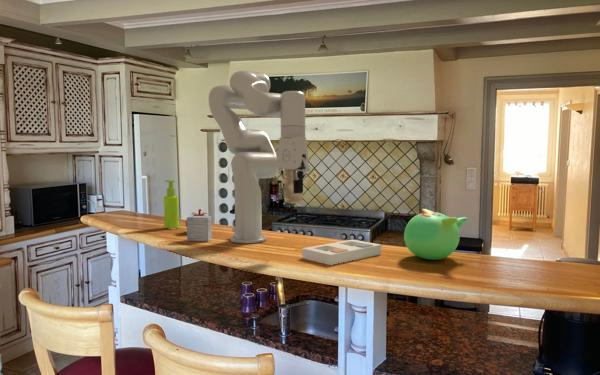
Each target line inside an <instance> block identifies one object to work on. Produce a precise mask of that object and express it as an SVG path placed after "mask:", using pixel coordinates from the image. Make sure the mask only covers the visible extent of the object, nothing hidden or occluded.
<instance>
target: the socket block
mask: <svg viewBox="0 0 600 375" xmlns="http://www.w3.org/2000/svg"><path fill="white" fill-rule="evenodd" d="M301 251H302V253H301V254H302V256H301V257H302V259H303V260H308V261H311V262H316V263H320V264H323V263H324V264H323V265H327V266H334V264H335V265H339V264H344V263H347V262H348V261H349V262H352V260H353V261H357V260H362V259H367V258H370V257H371V258H372V257H376V256H380V255H382V244H380V243H379V244H378V243H374V242H369V241H364V240H363V241H362V240H357V239H348V240H342V241H336V242H331V243H326V244H319V245H314V246H313V245H312V246H307V247H303V248H301ZM343 262H344V263H343ZM338 263H339V264H338Z"/></svg>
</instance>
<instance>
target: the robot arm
mask: <svg viewBox="0 0 600 375" xmlns="http://www.w3.org/2000/svg"><path fill="white" fill-rule="evenodd" d="M270 89H271V79H270V78H269V76H268V75H267V74H265V73H264V72H258V71H250V70H237V71H236V72H233V74H232V75H231V76H230V78H229V85H228V84H222V85H217V86H214V87H212V88H211V89H210V91H209V93H208V106H209V111H210V113H211V116H212V118H214V120H215V122H216V123H217V125H218V127H219V129H220V131H221V135H222V137H223V139H224V142H225V144H226V147H227V149H228V150H229V152H230V154H233V155H234V156H233V157H232V159H231V163H230V165H231V167H230V168H231V172H232V178H233V185H234V186H233V188H234V227H233V228H231V232H232V233H233V234H234V235H232V236H231V237H230V242H232V243H236V244H257V243H262V242H265V241H266V240H267V236H266V235H262V234H263V228H262V224H263V222H262V218H263V217H262V212H263V211H262V210H263V209H262V206H263V205H262V190H261V189H262V188H261V187H260V185H259V183H258V182H257V179H259V180H260V179H272V178H275V177H276V176H277V175H279V173H280V174H281V176H282V179H283V180H284V170H294V174H295V180H294V193H303V192H304V180H305V177H306V175H307V174H308V173H309V172H310V170H311V169H310V167H309V150H308V149H309V148H308V139H307V137H306V95H305V93H304V92H302V91H297V90H287V91H286V90H285V91H283V92H282V93H278V92H276V93H275V92H270ZM232 109H234V110H248V111H249V112H251V113H252V114H254V115H255V116H258V117H259V118H278V119H280V137H279V139H278V144H277V153H276V150H275V148H274V146H273V143H272V141H271V139H270V136H268V133H267V132H265V131H263V130H262V129H261V130H260V129H254V128H253V129H250V128H246V127H245V125H244V123H243V120H242V119H241V117H240V116H239V115H238V114H237V112H235V111H233V110H232ZM298 168H300V169H298ZM298 172H300V173H299V174H298Z"/></svg>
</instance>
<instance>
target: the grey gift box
mask: <svg viewBox="0 0 600 375" xmlns="http://www.w3.org/2000/svg"><path fill="white" fill-rule="evenodd" d="M186 220H187V227H186V241H187V242H209V241H211V240H212V238H213V237H212V236H213V235H212V234H213V233H212V225H211V224H212V216H209V215H205V216H204V215H203V216H193V215H189V216H188V217H186Z"/></svg>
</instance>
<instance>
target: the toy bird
mask: <svg viewBox="0 0 600 375" xmlns="http://www.w3.org/2000/svg"><path fill="white" fill-rule="evenodd" d="M421 210H422V213H421V212H420V213H419V214H416V215H415V216H413V217H412V218H411V219H410V220H409V221H408V223H407V224H406V226H405V228H404V233H403V240H404V244H405V246H406V248H407V249H408V250H409V251H410V252H411V253H412V254H413V255H414V256H417V257H418V258H422V259H423V260H432V261H433V260H434V261H435V260H442V259H445V258H448V257H449V256H451V255H452V254H453V253H454V252H455V251H456V249H457V247H458V246H459V243H460V237H461V236H460V235H461V234H460V228H461V227H463V226H464V225H465V224H466V223H467V222H468V220H469V218H468V217H466V216H462V217H456V216H448V215H446V214H443V213H441V212H439V211H433V210H430V209H426V208H422V209H421Z"/></svg>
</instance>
